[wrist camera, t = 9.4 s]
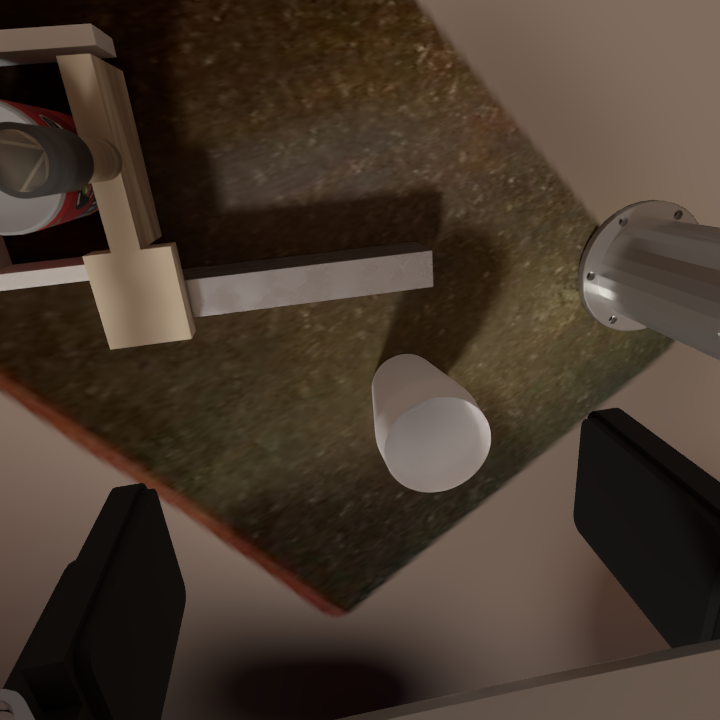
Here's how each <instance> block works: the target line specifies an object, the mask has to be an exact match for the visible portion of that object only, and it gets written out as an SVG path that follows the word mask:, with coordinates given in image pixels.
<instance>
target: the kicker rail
mask: <svg viewBox="0 0 720 720" xmlns="http://www.w3.org/2000/svg"><path fill="white" fill-rule="evenodd" d="M182 272H183V277H184V281H185V285H186V290H187V294H188V299H189V303H190V307H191V312H192V316H193V317H201V316H209V315H217V314H224V313H232V312H240V311H248V310H256V309H263V308H271V307H279V306H287V305H294V304H302V303H310V302H318V301H326V300H333V299H341V298H349V297H357V296H365V295H372V294H380V293H388V292H396V291H403V290H411V289H419V288H427V287H433V263H432V250H430V249H428V248H427V247H425V246H424V245H422V244H420V243H419V242H417V241H416V242H407V243H399V244H390V245H382V246H373V247H365V248H357V249H348V250H340V251H331V252H323V253H314V254H306V255H298V256H289V257H281V258H272V259H264V260H256V261H247V262H239V263H230V264H222V265H213V266H205V267H197V268H188V269H182Z"/></svg>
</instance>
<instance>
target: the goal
mask: <svg viewBox="0 0 720 720" xmlns="http://www.w3.org/2000/svg"><path fill="white" fill-rule="evenodd" d="M89 53H90V54H92V55H94V56H96V57H98V58H99V59H102V58H115V57H116V53H115V49H114V44H113V40H112V38H111V37H109V36H108V35H106V34H105V33H104V32H102V31H101V30H99V29H98V28H97V27H95V26H94V25H92V24H77V25H62V26H48V27H34V28H19V29H5V30H0V66H11V65H24V64H37V63H50V62H57V58H56V56H62V55H76V54H89ZM88 280H89V277H88V274H87V270H86V267H85V264H84V260H83V257H75V258H66V259H58V260H49V261H40V262H31V263H23V264H14V265H12V262H11V259H10V256H9V253H8V251H7V248H6V245H5V242H4V239H3V237H2V235H0V291H4V290H12V289H20V288H29V287H37V286H46V285H54V284H62V283H71V282H79V281H88Z"/></svg>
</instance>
